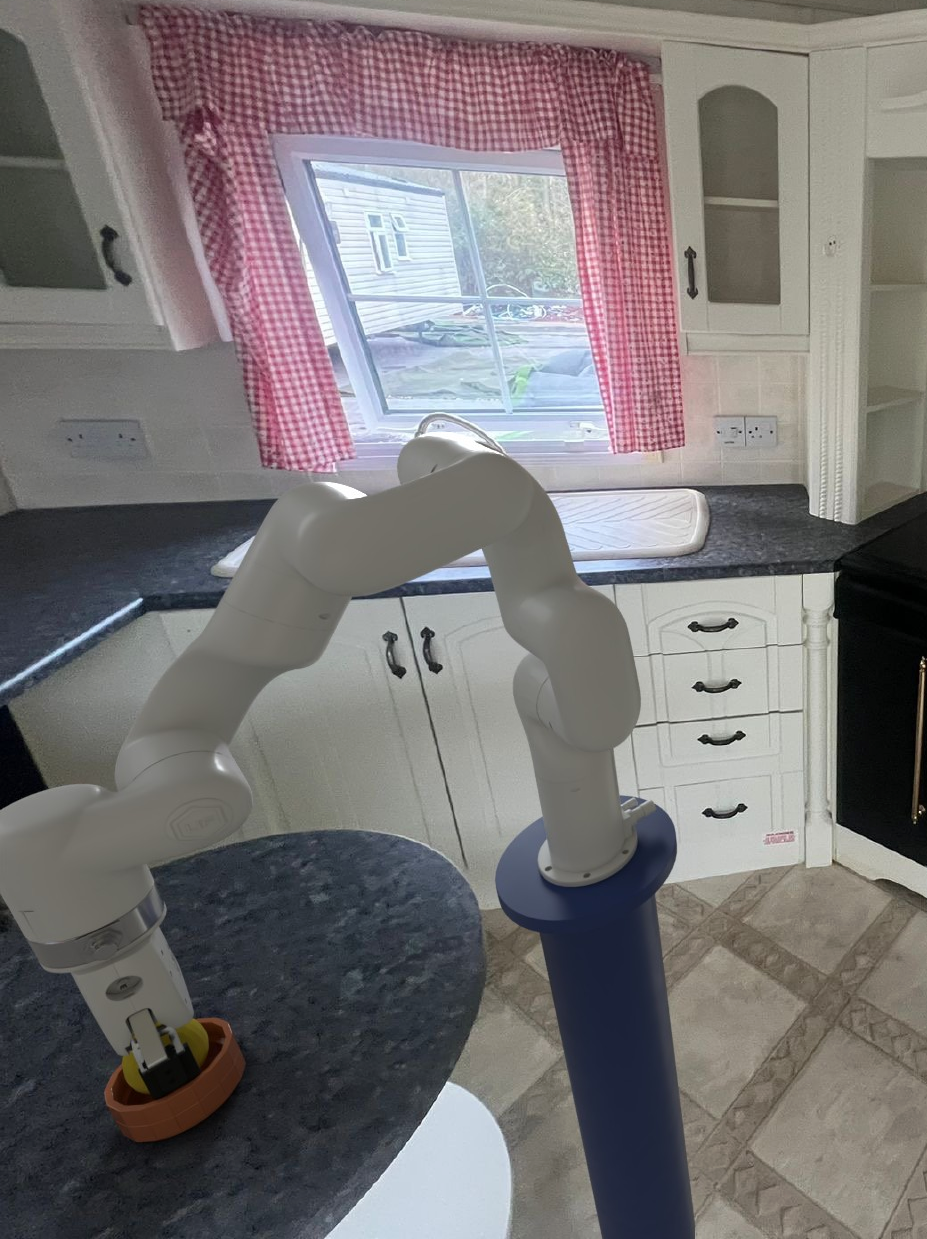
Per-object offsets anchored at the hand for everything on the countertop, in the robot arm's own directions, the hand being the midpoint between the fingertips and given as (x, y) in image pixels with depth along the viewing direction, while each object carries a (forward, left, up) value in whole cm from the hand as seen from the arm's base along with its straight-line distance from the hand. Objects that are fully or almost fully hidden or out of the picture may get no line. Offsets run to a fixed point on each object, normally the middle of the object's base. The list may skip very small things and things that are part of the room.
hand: (171, 1061), depth 69 cm
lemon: (0, 0, -3) cm, 3 cm away
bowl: (0, 0, -5) cm, 5 cm away
